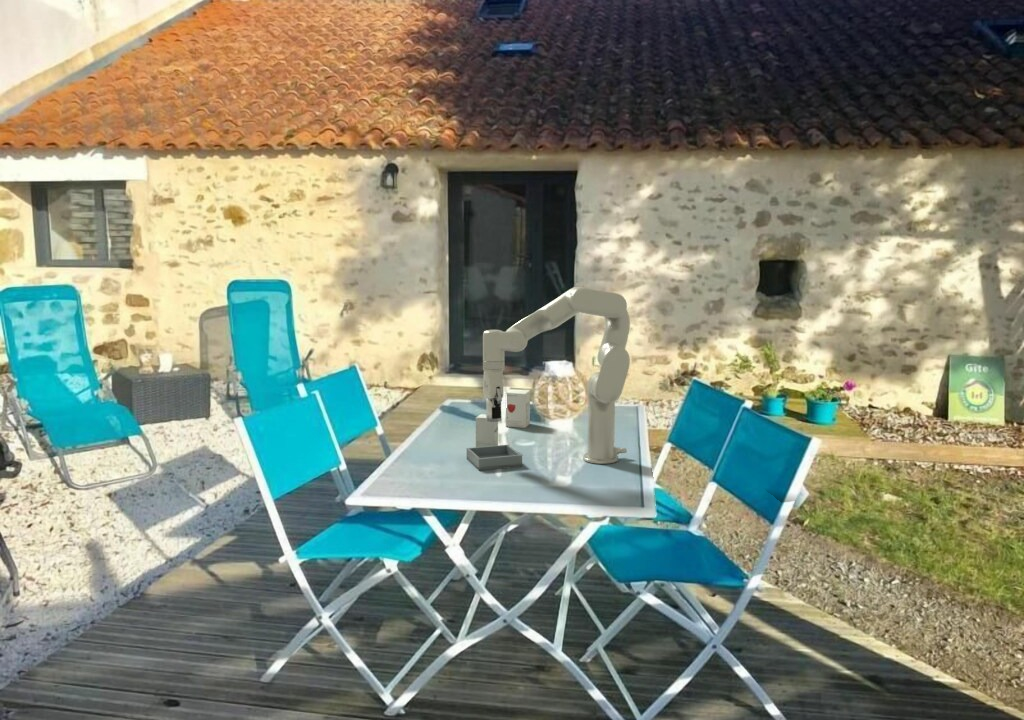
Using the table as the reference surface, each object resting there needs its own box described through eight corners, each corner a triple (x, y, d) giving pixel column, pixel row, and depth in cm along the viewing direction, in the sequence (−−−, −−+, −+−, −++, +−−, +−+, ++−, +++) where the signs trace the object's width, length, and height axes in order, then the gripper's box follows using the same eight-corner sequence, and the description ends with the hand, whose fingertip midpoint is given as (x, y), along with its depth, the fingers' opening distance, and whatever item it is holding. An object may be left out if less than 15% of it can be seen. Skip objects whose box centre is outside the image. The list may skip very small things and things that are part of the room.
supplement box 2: (505, 427, 326) (504, 392, 324) (510, 422, 334) (510, 388, 332) (525, 428, 324) (525, 393, 321) (530, 423, 332) (530, 389, 330)
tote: (507, 455, 281) (507, 444, 280) (522, 466, 266) (522, 455, 266) (466, 458, 276) (466, 448, 275) (478, 470, 261) (478, 459, 261)
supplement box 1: (494, 451, 286) (494, 418, 284) (475, 450, 287) (474, 417, 286) (498, 446, 293) (498, 414, 291) (479, 445, 295) (479, 413, 293)
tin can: (498, 418, 272) (498, 396, 271) (503, 421, 267) (503, 398, 266) (484, 419, 270) (484, 396, 269) (488, 422, 265) (488, 399, 264)
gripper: (476, 362, 273) (476, 412, 275) (490, 369, 257) (490, 422, 259) (496, 361, 275) (496, 411, 278) (511, 368, 259) (511, 421, 262)
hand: (493, 416), depth 269 cm, fingers closed on tin can, 5 cm apart
